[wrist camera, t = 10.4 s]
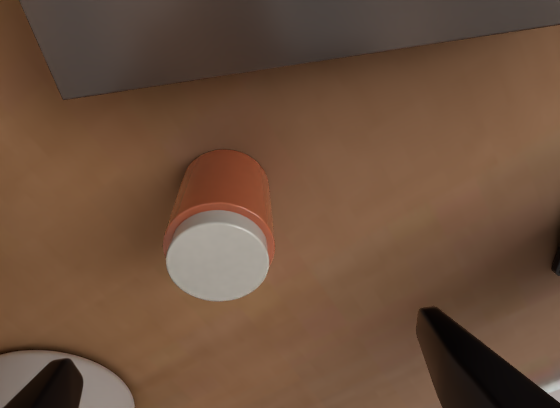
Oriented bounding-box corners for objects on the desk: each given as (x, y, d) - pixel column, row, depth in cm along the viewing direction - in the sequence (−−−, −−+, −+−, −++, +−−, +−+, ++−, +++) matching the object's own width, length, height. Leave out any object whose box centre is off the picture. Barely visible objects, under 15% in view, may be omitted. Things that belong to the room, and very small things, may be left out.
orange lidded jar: (261, 142, 19) (267, 207, 14) (274, 217, 22) (283, 298, 16) (171, 156, 19) (141, 226, 14) (194, 229, 22) (176, 314, 16)
